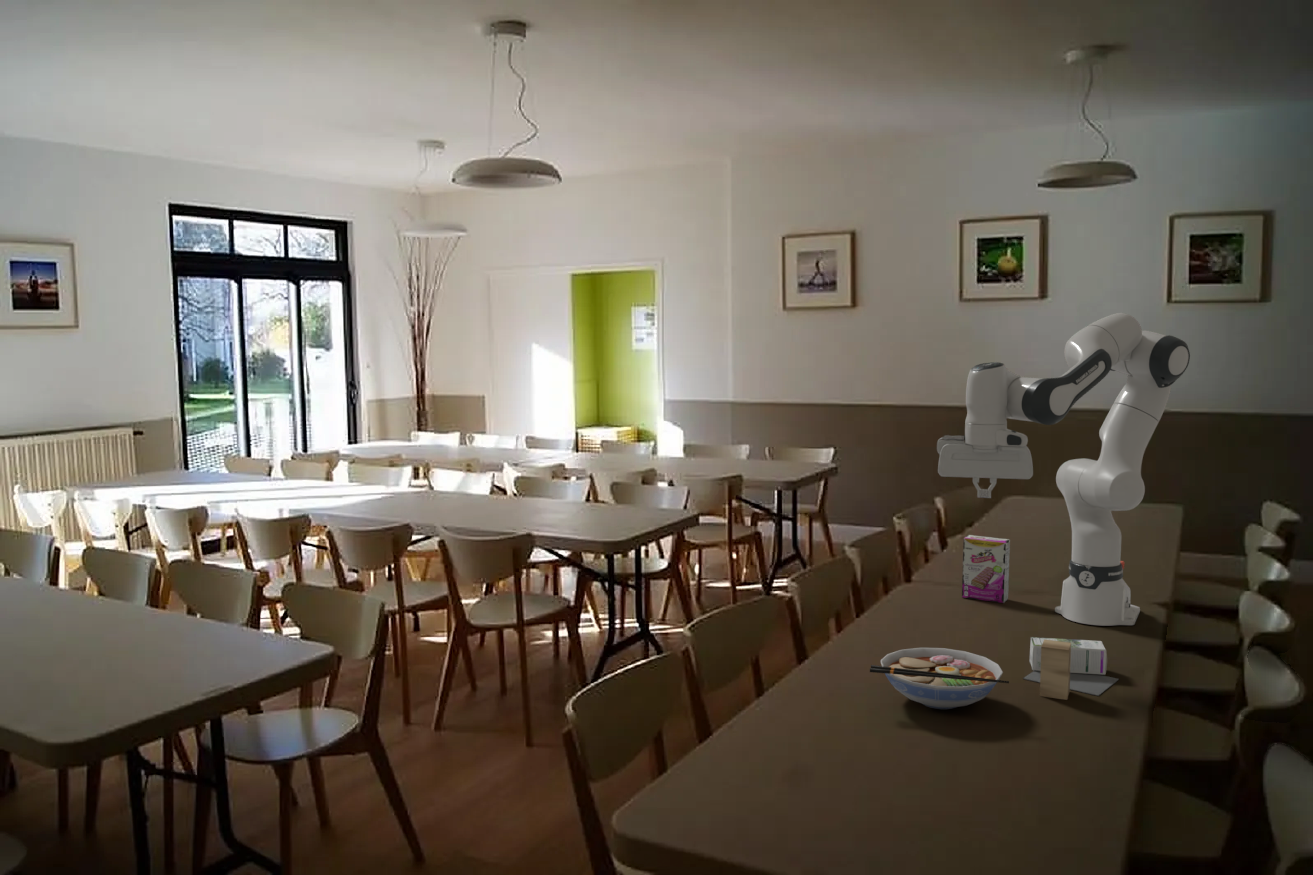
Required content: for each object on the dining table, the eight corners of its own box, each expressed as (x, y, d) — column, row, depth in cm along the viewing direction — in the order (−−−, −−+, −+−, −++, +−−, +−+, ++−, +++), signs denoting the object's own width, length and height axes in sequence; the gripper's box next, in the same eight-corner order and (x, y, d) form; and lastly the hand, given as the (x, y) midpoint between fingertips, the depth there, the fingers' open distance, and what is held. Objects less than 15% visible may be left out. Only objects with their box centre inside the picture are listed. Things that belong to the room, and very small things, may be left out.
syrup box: (1032, 671, 213) (1106, 677, 210) (1033, 644, 213) (1107, 649, 209) (1029, 661, 219) (1101, 667, 215) (1030, 635, 218) (1103, 640, 214)
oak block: (1042, 687, 204) (1044, 639, 203) (1069, 691, 202) (1071, 642, 201) (1039, 695, 200) (1041, 646, 199) (1067, 699, 198) (1068, 650, 197)
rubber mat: (1045, 664, 218) (1045, 663, 218) (1118, 679, 208) (1118, 678, 208) (1023, 679, 209) (1023, 678, 209) (1098, 696, 199) (1098, 695, 199)
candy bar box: (961, 598, 271) (962, 537, 269) (966, 593, 275) (967, 534, 273) (1004, 604, 265) (1005, 542, 263) (1008, 599, 269) (1010, 538, 267)
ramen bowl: (1008, 689, 204) (1009, 649, 203) (1007, 733, 182) (1009, 689, 181) (881, 676, 212) (881, 638, 211) (866, 717, 190) (867, 674, 189)
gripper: (936, 436, 226) (935, 498, 227) (1034, 438, 220) (1032, 501, 221) (937, 433, 232) (936, 493, 233) (1033, 435, 226) (1031, 497, 227)
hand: (984, 497), depth 227 cm, fingers closed
